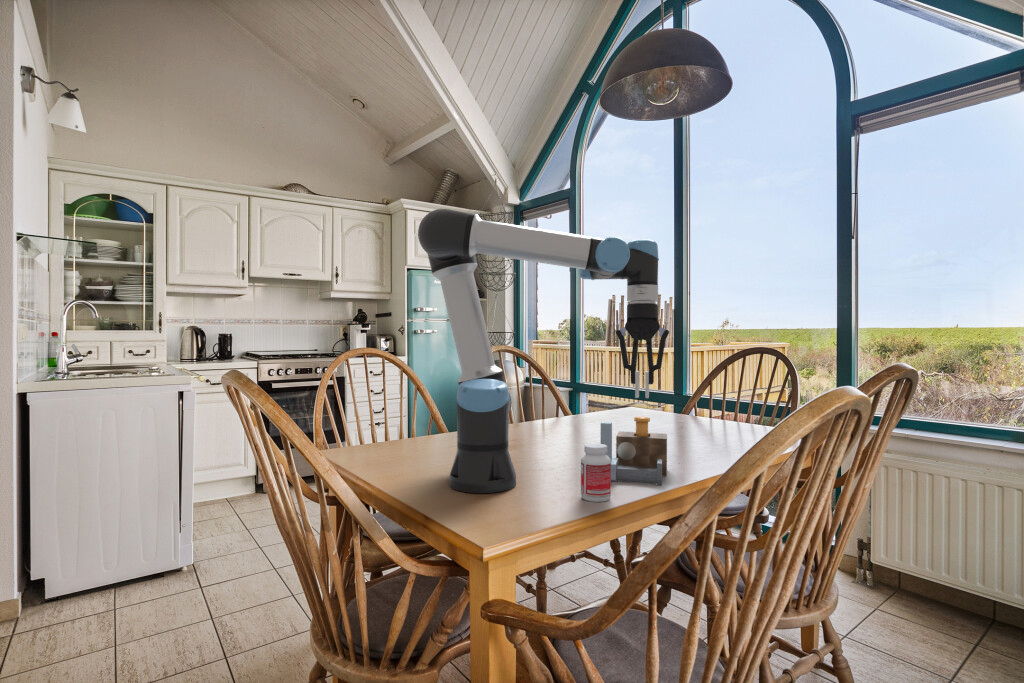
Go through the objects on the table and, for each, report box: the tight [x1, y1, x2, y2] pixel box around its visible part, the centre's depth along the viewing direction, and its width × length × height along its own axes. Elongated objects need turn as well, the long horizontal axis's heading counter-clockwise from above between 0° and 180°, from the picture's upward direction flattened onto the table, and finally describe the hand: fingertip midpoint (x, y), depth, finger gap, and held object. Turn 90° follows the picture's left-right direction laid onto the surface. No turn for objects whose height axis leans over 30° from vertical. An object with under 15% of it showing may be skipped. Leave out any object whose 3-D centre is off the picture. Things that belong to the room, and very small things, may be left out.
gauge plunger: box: [633, 416, 651, 437], centre depth 135 cm, size 4×4×7 cm
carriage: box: [600, 421, 618, 480], centre depth 127 cm, size 5×7×13 cm
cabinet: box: [615, 430, 668, 477], centre depth 135 cm, size 12×7×9 cm, turn 73°
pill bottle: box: [580, 443, 612, 503], centre depth 112 cm, size 6×6×11 cm
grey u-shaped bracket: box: [611, 459, 663, 487], centre depth 126 cm, size 17×5×5 cm, turn 73°
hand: (642, 397), depth 135 cm, fingers open, 2 cm apart
